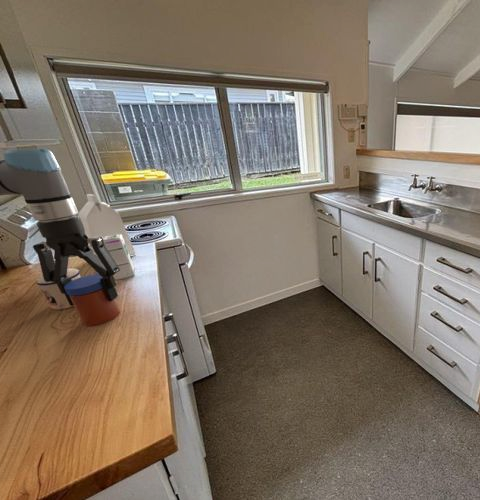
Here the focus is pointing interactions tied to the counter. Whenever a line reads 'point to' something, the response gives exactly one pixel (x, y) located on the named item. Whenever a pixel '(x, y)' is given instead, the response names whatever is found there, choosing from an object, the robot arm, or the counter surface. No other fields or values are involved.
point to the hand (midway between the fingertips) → (94, 300)
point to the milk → (103, 221)
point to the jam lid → (84, 285)
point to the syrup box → (120, 255)
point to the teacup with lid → (57, 290)
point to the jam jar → (95, 307)
